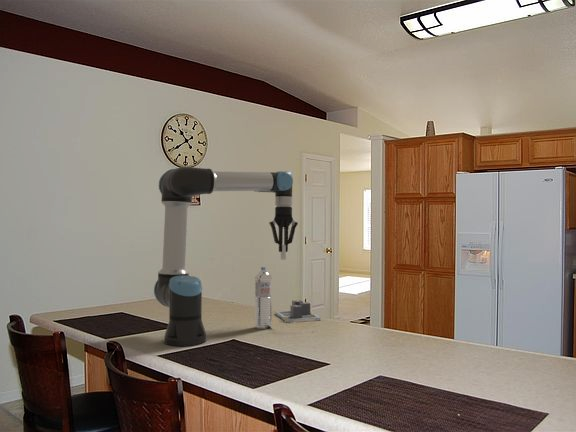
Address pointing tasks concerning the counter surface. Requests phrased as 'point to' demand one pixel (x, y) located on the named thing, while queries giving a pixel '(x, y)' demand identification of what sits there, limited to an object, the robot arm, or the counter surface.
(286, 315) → the switch bank
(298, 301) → the tab far
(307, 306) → the tab mid
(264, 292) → the water bottle
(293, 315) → the dark grey rectangular block
